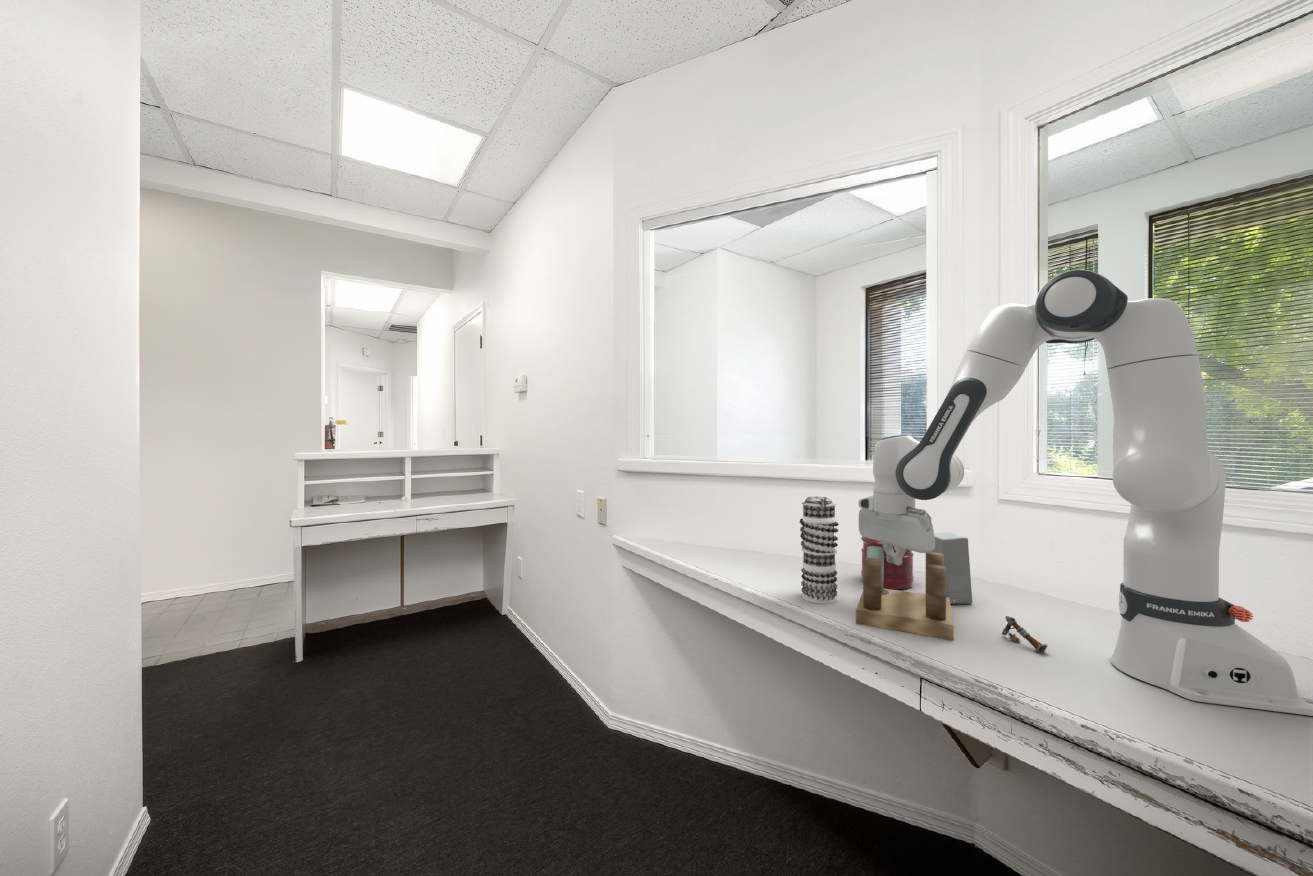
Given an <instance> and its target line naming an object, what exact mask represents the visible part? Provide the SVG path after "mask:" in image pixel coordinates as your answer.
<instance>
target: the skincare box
mask: <svg viewBox="0 0 1313 876" xmlns="http://www.w3.org/2000/svg"><path fill="white" fill-rule="evenodd" d="M934 538H935V549H934V550H933V551H932V552H937V553H941V554H944V567H945V568H946V597H949V598H950V605H951V604H971V605H972V604H973V592H972V589H973V588H972V578H971V565H970V551H969V538H968V537H965V536H961V535H958V534H955V533H952V532H934Z"/></svg>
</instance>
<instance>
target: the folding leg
mask: <svg viewBox="0 0 1313 876" xmlns="http://www.w3.org/2000/svg"><path fill="white" fill-rule="evenodd" d="M867 558H876V559H880V560H881V592H882V591H884V589H885V588H884V554H883V548H881V547H876V546H869V547H867Z"/></svg>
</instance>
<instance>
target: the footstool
mask: <svg viewBox="0 0 1313 876" xmlns="http://www.w3.org/2000/svg"><path fill="white" fill-rule="evenodd" d="M862 583H863V584H862V587H863V588H862V589H863V590H862V593H861V595H860V598H859V601H858V603H857V606H856V608H855V624H857V623H860V624H859V625H863V624H865V625H864V626H869V625H870V626H869V627H876V628H880V627H882V628H881V629H886V628H887V629H888V630H894V631H899V632H905V633H909V632H912V633H911V634H915V633H917V634H916V635H921V634H923V635H922V636H927V635H928V636H929V637H933V636H935V637H934V638H938V637H940V638H939V639H944V640H945V639H946V640H951V641H954V639H955V638H954V626H955V625H954V621H953V620H954V618H953V613H952V607H951V606H952V605H951V604H950V598H949V597H946V568H945V567H944V554H941V553H937V552H929V553H925V593H920V592H919V593H918V592H912V591H904V590H899V589H885V588H884V591H882V592H881V560H880V559H876V558H864V559H863V580H862Z"/></svg>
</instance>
